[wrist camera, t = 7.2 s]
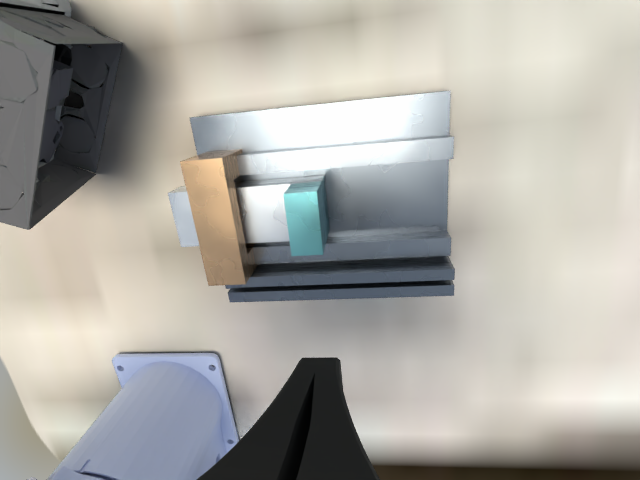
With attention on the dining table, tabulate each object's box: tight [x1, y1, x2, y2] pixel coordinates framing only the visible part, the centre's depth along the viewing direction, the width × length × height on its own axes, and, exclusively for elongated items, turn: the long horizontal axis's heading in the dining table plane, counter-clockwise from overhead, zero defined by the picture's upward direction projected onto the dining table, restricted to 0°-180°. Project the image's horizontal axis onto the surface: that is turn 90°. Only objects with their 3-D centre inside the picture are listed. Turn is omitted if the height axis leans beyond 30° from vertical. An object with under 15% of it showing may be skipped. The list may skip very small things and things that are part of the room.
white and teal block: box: [168, 175, 330, 256], centre depth 19 cm, size 3×8×4 cm, turn 95°
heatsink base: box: [180, 91, 455, 302], centre depth 19 cm, size 10×13×4 cm
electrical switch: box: [0, 0, 122, 230], centre depth 17 cm, size 9×5×9 cm, turn 155°
